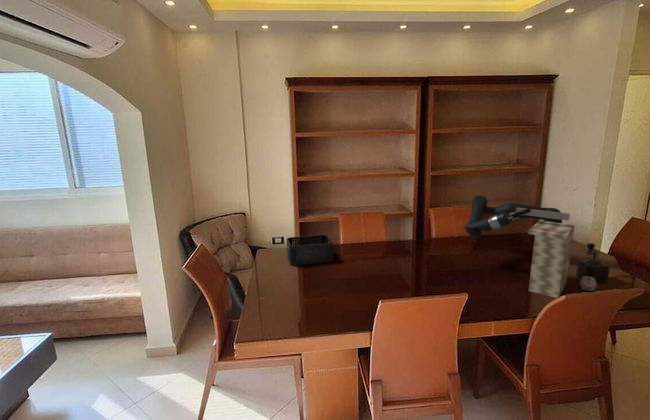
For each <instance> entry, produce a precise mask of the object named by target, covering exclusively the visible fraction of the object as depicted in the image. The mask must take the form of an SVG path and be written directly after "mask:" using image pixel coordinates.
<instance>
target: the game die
mask: <svg viewBox="0 0 650 420" xmlns="http://www.w3.org/2000/svg"><path fill="white" fill-rule="evenodd" d="M582 275H583V274H582ZM577 283H578V284H579V285H580V288H581V289H580V291H589V292H592V291H593V292H594V291H595V289H596V288H597V287H598V286H600V284H598V283H596V280H595V276H594V277H589V276H584V275H583V277H582V278H581V279H580V280H579V281H577Z"/></svg>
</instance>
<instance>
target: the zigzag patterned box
mask: <svg viewBox="0 0 650 420" xmlns="http://www.w3.org/2000/svg"><path fill="white" fill-rule="evenodd" d="M575 227H576V226H575V224H570V223H569V224H568V223H563V222H562V223H554V222H547V221H544V220H538V221H537V222H536V223H535V224H534V225H532V226H531V227H530V228H529V229H528V233H527V235H534V240H533V248H532V249H533V250H532V256H531V257H532V258H531V265H530V275H529V284H528V292H531V293H535V294H539V295H543V296H548V297H552V298H556V299H558V298H557V297H559V298H560V296H561V294H562V292H563V290H564V288H565V287H566V284H567V281H568V274H569V269H570V261H571V254H572V247H573V246H572V245H573V239H574V233H575Z"/></svg>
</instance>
